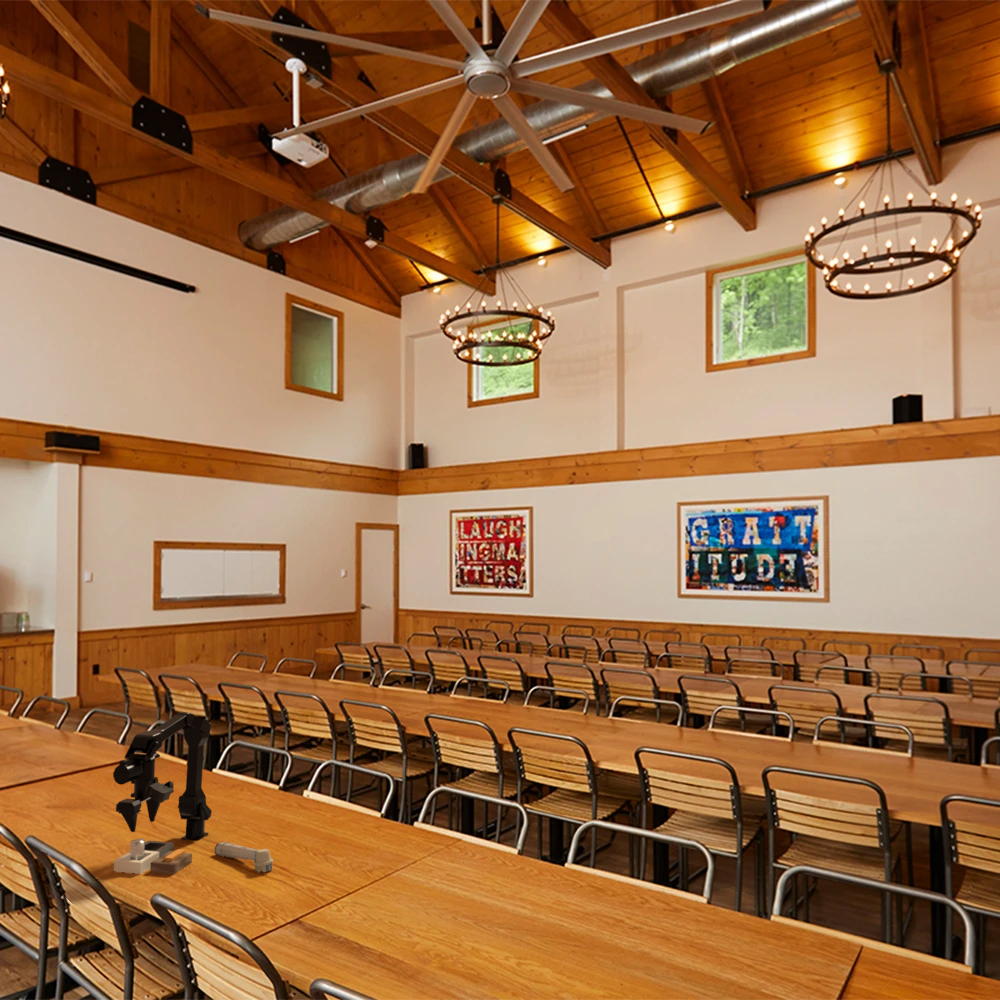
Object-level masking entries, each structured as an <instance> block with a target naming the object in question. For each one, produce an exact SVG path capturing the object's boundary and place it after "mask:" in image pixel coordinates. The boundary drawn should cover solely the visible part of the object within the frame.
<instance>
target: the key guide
mask: <svg viewBox="0 0 1000 1000" xmlns="http://www.w3.org/2000/svg"><path fill="white" fill-rule="evenodd" d="M173 852H174V851H171V852H167V853H166V854H164V855H163V856H161V857H159V858H158V859H156V860H154V861H153V862H151V866H150V869H149V870H150V871H149V872H151V873H153V874H162V875H163V874H165V875H172V874H173V876H174V875H176V874H177V873H179V872H180V871H182V870H184V869H185V868H186V867H188V866H189V865H191V864H192V861H193V853H191V852H189V853H188V852H185V853H184V854H183V855H181V856H180V857H178V858H176V859H175V860H173V861H172V862H170V863H167V862H165V857H166V856H168V855H170V854H171V853H173ZM190 863H191V864H190ZM187 865H188V866H187ZM184 867H185V868H184ZM178 871H179V872H178ZM151 873H150V874H151Z"/></svg>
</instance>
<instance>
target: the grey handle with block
mask: <svg viewBox="0 0 1000 1000" xmlns="http://www.w3.org/2000/svg"><path fill="white" fill-rule="evenodd" d="M213 849H214V854H215V855H216V856H220V857H222V858H225V857H226V858H231V859H232V858H233V859H240V860H250V861H253V865H254V871H255V872H256V871H257V872H256V873H261V872H263V873H268V872H271V871H272V870H273V863H274V859H273V858H272V857H271V853H270V849H268V848H261V849H256V848H251V847H247V846H242V845H238V844H234V843H231V842H230V841H227V842H218V843H217V844H216V845H215V846H214V848H213ZM224 856H225V857H224Z"/></svg>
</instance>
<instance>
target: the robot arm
mask: <svg viewBox="0 0 1000 1000" xmlns="http://www.w3.org/2000/svg"><path fill="white" fill-rule="evenodd" d="M211 728H212V726H211V722H210V721H209V720H208V719H204V718H201V717H199V716H196V715H194V714H193V713H191V712H184V711H179V712H177V713H175V715H174V716H172V717H171V718H170V719H168V720H166V721H165V722H163V723H162V724H160V725H158V726H157V727H155V728H153V729H151V730H145V731H142V732H140V733H137V734H136V735H135V736H134V737H133V739H132V741H131V743H130V745H129V747H128V749H127V750H126V753H125V756H124V759H123V760H120V761H119V765H117V766H116V767H115V768H114V771H113V773H112V776H113V777H112V778H113V780H114V782H115V783H116V784H117V785H122V786H123V785H125V784H127V783H131V784H133V792H132V793H131V794H130V798H125V799H122V800H120V801H118V802H117V803H116V805H115V812H116V813H118V814H120V815H121V816H122V817H123V819H124V821H125V822H126V825H127V826H128V828H129V831H130V833H135V832H136V830H137V829H136V828H137V823H138V822H137V820H138V815H139V813H140V812H142V809H141V808H142V804H143V803H144V802H146V808H147V814H148V819H149V822H150V823H154V821H155V820H156V816H157V813H158V811H159V808H160V806H161V804H162V803H164V802H165V801H168V800H169V799H170V796H171V794H173V793H174V792H175V790H174V782H173V781H172V780H169V781H167V782H165V783H163V782H162V783H161V782H159V777H158V776H155V775H156V774H155V770H156V769H155V768H156V759H158V758H160V756H161V755H160V754H159V753H158V750H159V749H160V748H162V747H163V744H164V742H165V741H166V740H168V738H170V737H172V736H173V735H175V734H176V733H177V732H179V731H181V730H182V731H183V739H184V741H185V743H186V745H187V747H188V748H187V749H188V750H187V763H186V764H187V765H186V778H185V783H186V784H185V790H184V791H183V794H182V795H180V796H179V797H178V806H177V809H178V813H179V816H180V819H181V820H185V821H186V822H185V823H186V824H185V835H184V836H182V837H181V840H185V839H190V840H189V841H201V840H202V839H203V838H205V837H206V835H207V836H208V835H209V832H205V826H206V821H208V820H209V819H210V818H211V817H212V809H211V808H210V807H209V806H208V804H207V797H206V794H205V792H204V790H203V789H202V784H203V783H202V782H203V767H204V766H203V765H204V750H205V744H206V743H207V741H208V740H209V738H210V734H211ZM204 836H205V837H204ZM201 838H202V839H201Z"/></svg>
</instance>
